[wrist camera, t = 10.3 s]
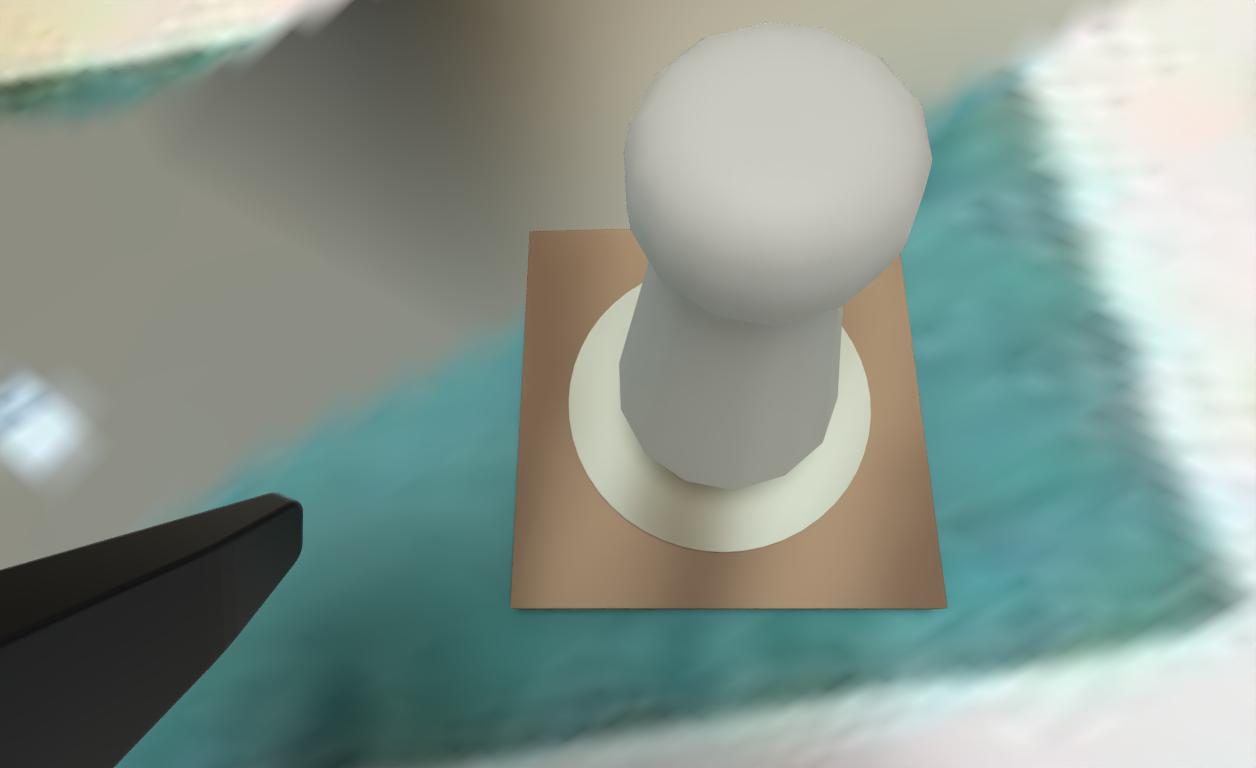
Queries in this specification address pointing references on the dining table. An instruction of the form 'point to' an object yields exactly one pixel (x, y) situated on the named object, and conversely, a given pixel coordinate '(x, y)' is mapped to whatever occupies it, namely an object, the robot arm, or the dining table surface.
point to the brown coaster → (700, 514)
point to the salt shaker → (759, 241)
